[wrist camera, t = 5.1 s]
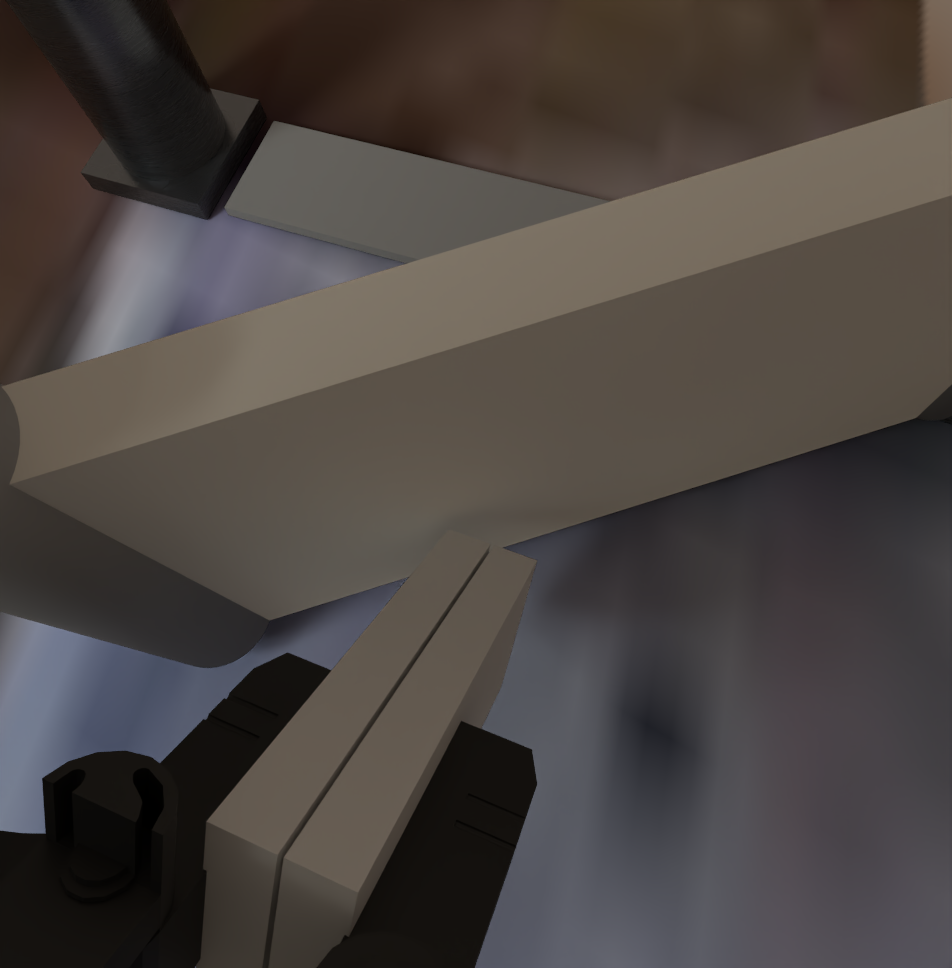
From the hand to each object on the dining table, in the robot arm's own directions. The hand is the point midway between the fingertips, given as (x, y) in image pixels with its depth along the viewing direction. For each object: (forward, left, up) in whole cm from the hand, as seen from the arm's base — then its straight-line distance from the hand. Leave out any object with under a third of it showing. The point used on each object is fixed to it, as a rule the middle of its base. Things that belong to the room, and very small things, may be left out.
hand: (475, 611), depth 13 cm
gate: (0, +3, -2) cm, 4 cm away
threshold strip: (-3, +9, -3) cm, 10 cm away
